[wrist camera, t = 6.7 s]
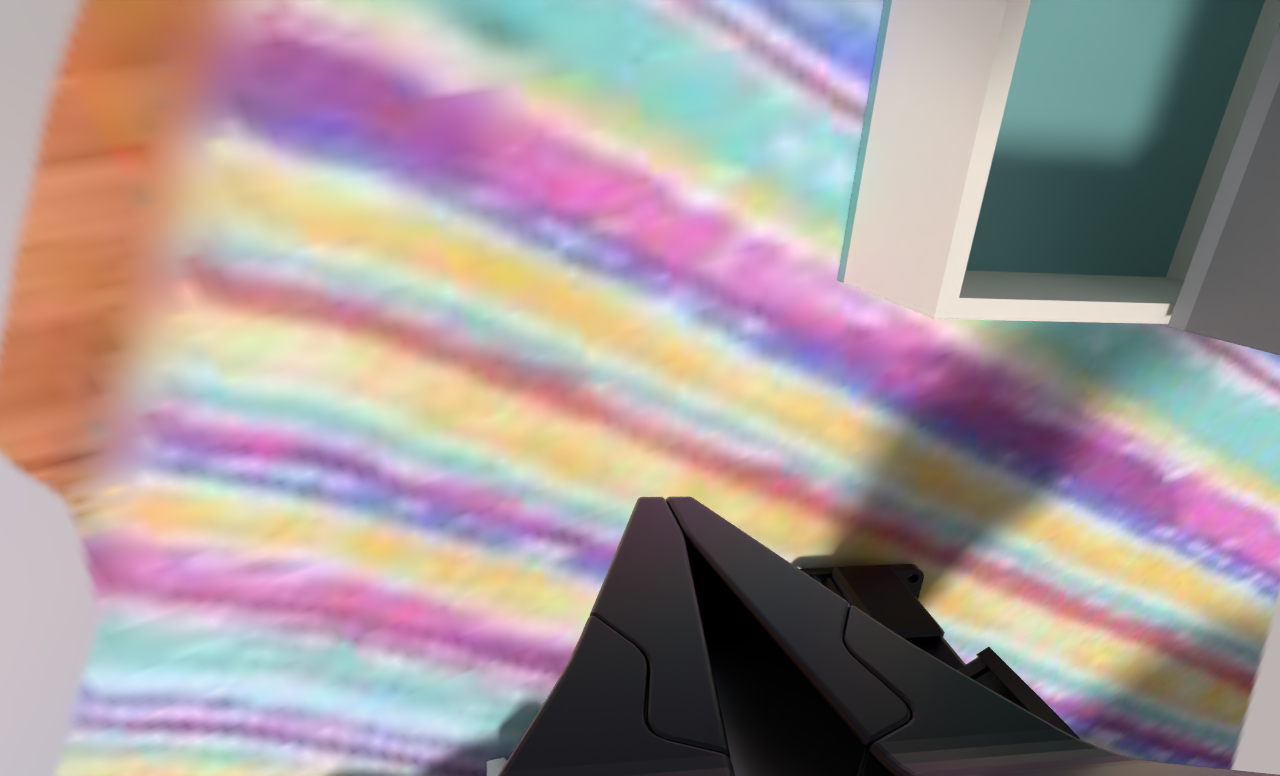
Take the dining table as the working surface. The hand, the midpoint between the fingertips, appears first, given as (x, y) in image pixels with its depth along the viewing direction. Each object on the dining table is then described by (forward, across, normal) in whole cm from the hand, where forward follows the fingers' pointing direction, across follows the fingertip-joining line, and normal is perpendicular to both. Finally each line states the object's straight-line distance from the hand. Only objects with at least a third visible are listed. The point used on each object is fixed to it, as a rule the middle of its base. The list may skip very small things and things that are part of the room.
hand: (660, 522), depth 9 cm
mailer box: (+13, -16, -8) cm, 22 cm away
